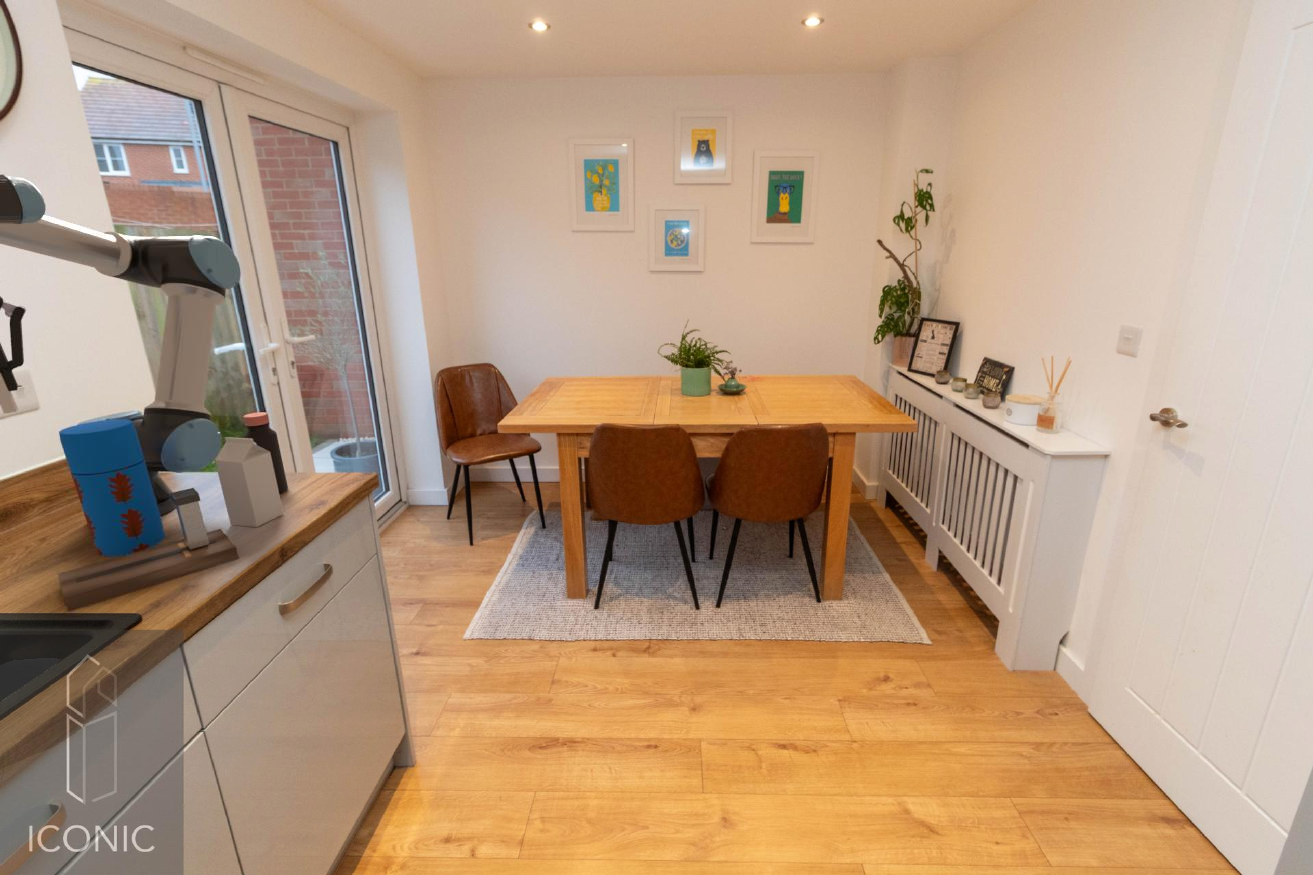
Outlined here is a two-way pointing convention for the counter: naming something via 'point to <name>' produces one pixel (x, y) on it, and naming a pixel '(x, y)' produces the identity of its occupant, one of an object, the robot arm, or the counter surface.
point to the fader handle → (190, 517)
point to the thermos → (113, 486)
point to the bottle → (266, 444)
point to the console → (142, 569)
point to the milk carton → (248, 483)
